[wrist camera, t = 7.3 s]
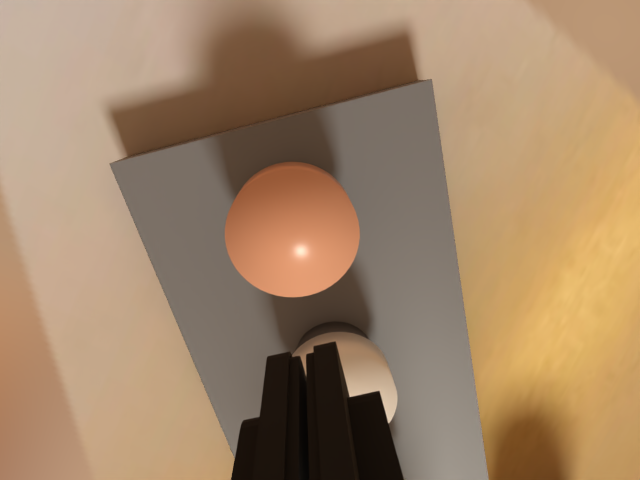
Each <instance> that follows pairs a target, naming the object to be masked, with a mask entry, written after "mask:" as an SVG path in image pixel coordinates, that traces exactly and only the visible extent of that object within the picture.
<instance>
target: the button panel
mask: <svg viewBox="0 0 640 480" xmlns="http://www.w3.org/2000/svg"><path fill="white" fill-rule="evenodd" d="M283 162H302V163H307V164H311V165H314V166H317V167H319V168H321V169H323V170H325V171H326V172H328V173H329V174H330V175H332V176H333V177H334V178H335V179H336V180H337V181H338V182H339V183H340V184H341V185H342V187H343V188H344V190H345V191H346V193H347V195H348V197H349V199H350V201H351V203H352V205H353V207H354V209H355V212H356V214H357V218H358V221H359V228H360V239H359V246H358V250H357V254H356V256H355V258H354V261H353V262H352V264H351V266H350V268H349V269H348V270H347V272H346V273H345V274H344V275H343V276H342V277H341V278H340V279H339V280H338V281H337V282H336V283H334V284H333V285H332V286H330V287H328V288H327V289H325V290H323V291H320V292H318V293H315V294H312V295H308V296H303V297H282V296H276V295H273V294H270V293H267V292H265V291H262V290H260V289H258V288H257V287H255V286H253V285H252V284H251V283H249V282H248V281H247V280H246V279H245V278H244V277H243V276H242V275H241V274H240V273H239V272H238V271H237V269H236V268H235V266H234V265H233V263H232V261H231V259H230V257H229V254H228V251H227V248H226V243H225V224H226V219H227V216H228V212H229V210H230V208H231V206H232V204H233V202H234V200H235V198H236V197H237V195H238V193H239V191H240V190H241V188H242V187H243V185H244V184H245V183H246V182H247V181H248V180H249V179H250V178H251V177H252V176H253V175H254V174H256V173H257V172H259V171H260V170H262V169H264V168H266V167H268V166H271V165H274V164H278V163H283ZM110 166H111V169H112V171H113V174H114V176H115V178H116V181H117V183H118V185H119V188H120V190H121V192H122V195H123V197H124V199H125V202H126V204H127V206H128V209H129V211H130V213H131V216H132V218H133V221H134V223H135V225H136V228H137V230H138V232H139V235H140V237H141V239H142V242H143V244H144V246H145V249H146V251H147V253H148V256H149V258H150V260H151V263H152V265H153V268H154V270H155V272H156V275H157V277H158V279H159V282H160V284H161V286H162V289H163V291H164V293H165V296H166V298H167V300H168V303H169V305H170V308H171V310H172V312H173V315H174V317H175V319H176V322H177V324H178V326H179V329H180V331H181V333H182V336H183V338H184V340H185V343H186V345H187V347H188V350H189V352H190V355H191V357H192V359H193V362H194V364H195V366H196V369H197V371H198V373H199V376H200V378H201V380H202V383H203V385H204V387H205V390H206V392H207V394H208V397H209V399H210V402H211V404H212V406H213V409H214V411H215V413H216V416H217V418H218V420H219V423H220V425H221V427H222V430H223V432H224V434H225V437H226V439H227V441H228V444H229V446H230V449H231V451H232V453H233V456H234V458H235V455H236V449H237V443H238V438H239V432H240V427H241V423H242V422H243V420H246V419H251V418H256V417H260V409H261V401H262V393H263V384H264V376H265V368H266V360H267V357H268V356H271V355H275V354H280V353H284V352H289V351H290V352H291V354H292V355H293V353H294V352H295V351H296V350H297V349H298V348H299V347H300V346H301V345H302V344H304V343H305V342H306V341H308V340H310V339H311V338H314V337H316V336H318V335H322V334H325V333H331V332H348V333H354V334H357V335H360V336H363V337H365V338H367V339H369V340H370V341H372V342H373V343H374V344H376V345H377V346H378V347H379V349H380V350H381V351H382V352H383V354H384V356H385V358H386V360H387V363H388V366H389V369H390V372H391V375H392V378H393V381H394V384H395V387H396V390H397V407H396V411H395V414H394V416H393V418H392V420H391V421H390V423H389V427H390V431H391V435H392V438H393V442H394V446H395V449H396V453H397V457H398V460H399V464H400V468H401V471H402V475H403V478H405V479H406V480H489V479H488V472H487V464H486V457H485V450H484V443H483V436H482V429H481V422H480V415H479V408H478V401H477V394H476V387H475V380H474V373H473V366H472V359H471V352H470V345H469V338H468V331H467V324H466V316H465V309H464V302H463V295H462V288H461V281H460V274H459V267H458V260H457V253H456V246H455V239H454V232H453V225H452V218H451V211H450V204H449V197H448V190H447V183H446V176H445V168H444V161H443V154H442V147H441V140H440V133H439V126H438V119H437V112H436V105H435V98H434V91H433V84H432V79H430V80H419V81H415V82H411V83H407V84H403V85H400V86H396V87H392V88H388V89H384V90H381V91H377V92H373V93H369V94H365V95H361V96H358V97H354V98H350V99H346V100H342V101H339V102H335V103H331V104H327V105H323V106H319V107H316V108H312V109H308V110H304V111H300V112H297V113H293V114H289V115H285V116H281V117H278V118H274V119H270V120H266V121H262V122H258V123H255V124H251V125H247V126H243V127H239V128H236V129H232V130H228V131H224V132H220V133H217V134H213V135H209V136H205V137H201V138H197V139H194V140H190V141H186V142H182V143H178V144H175V145H171V146H167V147H163V148H159V149H156V150H152V151H148V152H144V153H140V154H136V155H133V156H129V157H126V158H123V159H121V160H118V161H115V162H113V163H110Z"/></svg>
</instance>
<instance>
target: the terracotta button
mask: <svg viewBox="0 0 640 480" xmlns="http://www.w3.org/2000/svg"><path fill="white" fill-rule="evenodd" d="M359 239H360V228H359V221H358V218H357V214H356V212H355V209H354V207H353V205H352V203H351V201H350V199H349V197H348V195H347V193H346V191H345V190H344V188H343V187H342V185H341V184H340V183H339V182H338V181H337V180H336V179H335V178H334V177H333V176H332V175H330V174H329V173H328V172H326V171H325V170H323V169H321V168H319V167H317V166H314V165H311V164H307V163H302V162H283V163H278V164H274V165H271V166H268V167H266V168H264V169H262V170H260V171H259V172H257V173H256V174H254V175H253V176H252V177H251V178H250V179H249V180H248V181H247V182H246V183H245V184H244V185H243V187H242V188H241V190H240V191H239V193H238V195H237V197H236V198H235V200H234V202H233V204H232V206H231V208H230V210H229V212H228V216H227V219H226V224H225V243H226V248H227V251H228V254H229V257H230V259H231V261H232V263H233V265H234V266H235V268H236V269H237V271H238V272H239V273H240V274H241V275H242V276H243V277H244V278H245V279H246V280H247V281H248V282H249V283H251V284H252V285H253V286H255V287H257V288H258V289H260V290H262V291H265V292H267V293H270V294H273V295H276V296H282V297H303V296H308V295H312V294H315V293H318V292H320V291H323V290H325V289H327V288H328V287H330V286H332V285H333V284H334V283H336V282H337V281H338V280H339V279H340V278H341V277H342V276H343V275H344V274H345V273H346V272H347V270H348V269H349V268H350V266H351V264H352V262H353V261H354V258H355V256H356V254H357V250H358V246H359Z"/></svg>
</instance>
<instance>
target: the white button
mask: <svg viewBox="0 0 640 480" xmlns="http://www.w3.org/2000/svg"><path fill="white" fill-rule="evenodd" d="M334 341H336V344H337V348H338V352H339V356H340V360H341V364H342V368H343V372H344V376H345V380H346V384H347V388H348V392H349V396H350V397H352V396H357V395H361V394H366V393H371V392H375V391H380V394H381V398H382V401H383V405H384V409H385V412H386V416H387V420H388V423H390V421H391V420H392V418H393V416H394V414H395V411H396V407H397V390H396V387H395V384H394V381H393V378H392V375H391V372H390V369H389V366H388V363H387V360H386V358H385V356H384V354H383V352H382V351H381V350H380V349H379V347H378V346H377V345H376V344H374V343H373V342H372V341H370V340H369V339H367V338H365V337H363V336H360V335H357V334H354V333H348V332H331V333H325V334H322V335H318V336H316V337H314V338H311V339H310V340H308V341H306V342H305V343H304V344H302V345H301V346H300V347H299V348H298V349H297V350H296V351H295V352H294V353H293V355H292V357H295V356H300V357H301V360H302V363H303V367H304V370H305V374H306V354H308V353H313V352H314V351H313V347H314V346H316V345H321V344H325V343H330V342H334Z"/></svg>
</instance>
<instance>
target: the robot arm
mask: <svg viewBox="0 0 640 480" xmlns="http://www.w3.org/2000/svg"><path fill="white" fill-rule="evenodd" d="M313 351H314V352H313V353H308V354H306V374H305V370H304V367H303V363H302V360H301V357H300V356H295V357H292V354H291V352H290V351H289V352H284V353H280V354H275V355H271V356H268V357H267V360H266V368H265V376H264V384H263V393H262V401H261V409H260V417H256V418H251V419H246V420H243V422H242V423H241V427H240V432H239V438H238V443H237V449H236V455H235V461H234V466H233V472H232V478H231V480H404V479H403V475H402V471H401V468H400V464H399V460H398V457H397V453H396V449H395V446H394V442H393V438H392V435H391V431H390V427H389V423H388V420H387V416H386V412H385V409H384V405H383V401H382V398H381V394H380V391H375V392H371V393H366V394H361V395H357V396H352V397H350V396H349V392H348V388H347V384H346V380H345V376H344V372H343V368H342V364H341V360H340V356H339V352H338V348H337V344H336V341H334V342H330V343H325V344H321V345H316V346H314V347H313Z"/></svg>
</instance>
